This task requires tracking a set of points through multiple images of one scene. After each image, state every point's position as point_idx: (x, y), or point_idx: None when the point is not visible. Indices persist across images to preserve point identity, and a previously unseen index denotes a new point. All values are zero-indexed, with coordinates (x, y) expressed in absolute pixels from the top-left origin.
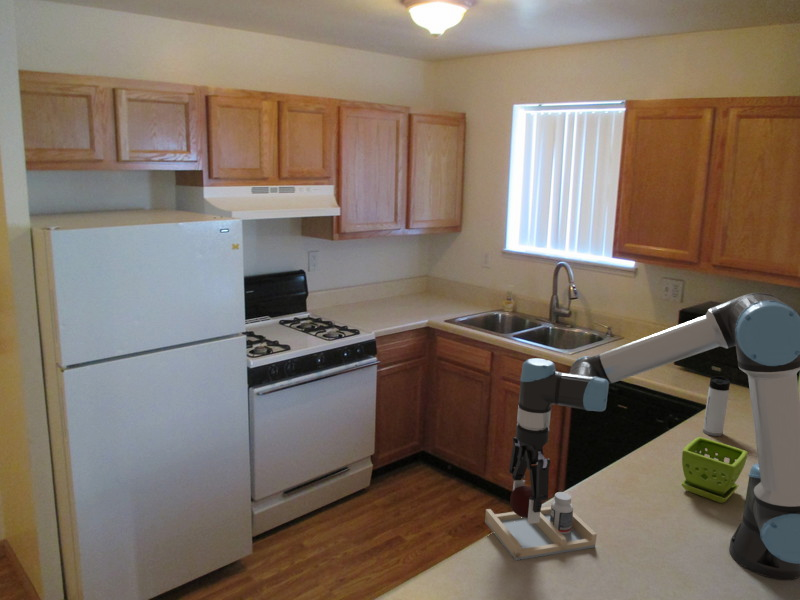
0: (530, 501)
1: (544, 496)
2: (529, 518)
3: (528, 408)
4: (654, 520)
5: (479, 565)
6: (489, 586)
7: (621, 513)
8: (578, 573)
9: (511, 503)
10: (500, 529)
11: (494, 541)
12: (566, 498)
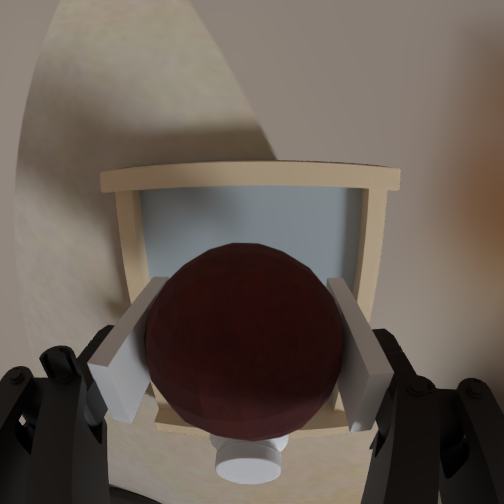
0: (103, 347)
1: (24, 416)
2: (143, 289)
3: None
4: (243, 495)
5: (132, 46)
6: (54, 60)
7: (280, 479)
8: (69, 312)
9: (249, 247)
10: (245, 161)
11: (247, 138)
12: (225, 472)
